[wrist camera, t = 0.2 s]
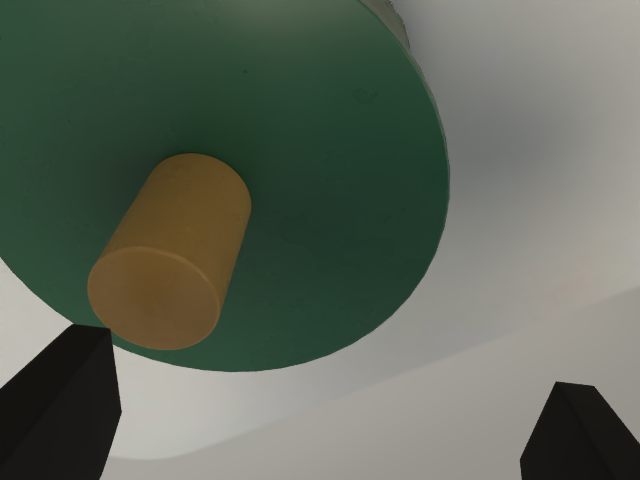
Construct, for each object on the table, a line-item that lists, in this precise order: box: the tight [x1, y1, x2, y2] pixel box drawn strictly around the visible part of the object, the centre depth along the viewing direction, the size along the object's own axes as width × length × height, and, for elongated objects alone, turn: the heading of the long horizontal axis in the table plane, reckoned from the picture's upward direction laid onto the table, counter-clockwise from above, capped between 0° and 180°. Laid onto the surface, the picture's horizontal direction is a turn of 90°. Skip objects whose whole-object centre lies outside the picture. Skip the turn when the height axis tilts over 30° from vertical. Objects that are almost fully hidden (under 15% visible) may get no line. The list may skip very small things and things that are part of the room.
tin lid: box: [0, 0, 450, 372], centre depth 13 cm, size 11×11×5 cm
